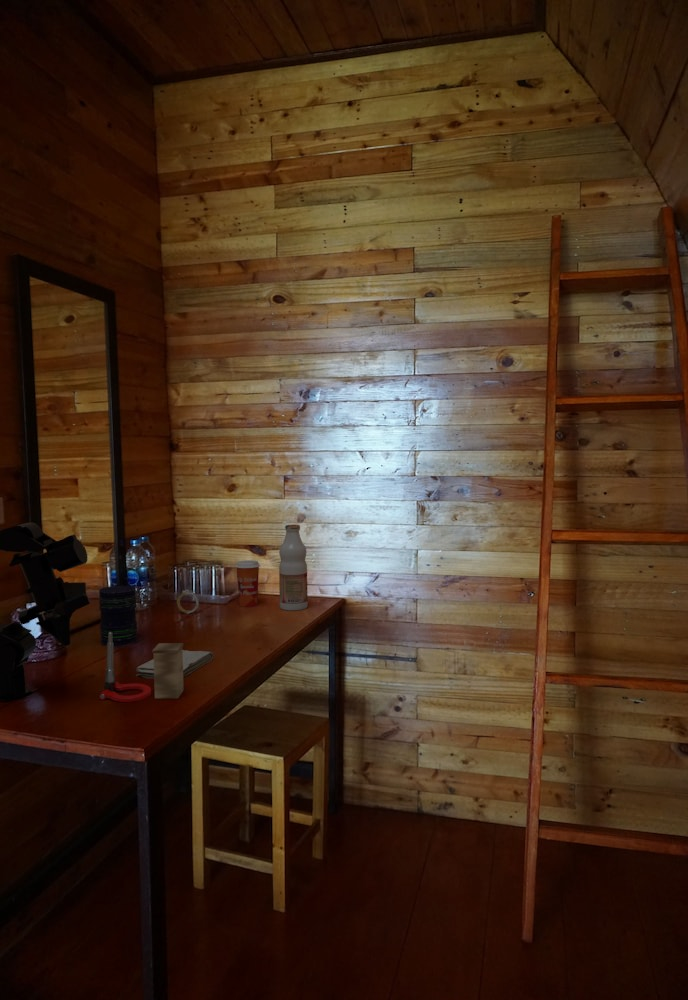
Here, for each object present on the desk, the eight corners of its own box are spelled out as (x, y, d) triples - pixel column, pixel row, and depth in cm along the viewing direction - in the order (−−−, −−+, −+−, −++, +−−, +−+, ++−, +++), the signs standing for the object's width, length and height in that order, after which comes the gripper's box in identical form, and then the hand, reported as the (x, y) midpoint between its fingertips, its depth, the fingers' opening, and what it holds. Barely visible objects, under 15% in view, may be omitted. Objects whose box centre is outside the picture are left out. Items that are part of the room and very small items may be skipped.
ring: (176, 614, 222) (175, 590, 221) (179, 612, 225) (179, 588, 224) (196, 614, 221) (196, 590, 220) (200, 612, 224) (199, 588, 224)
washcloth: (133, 679, 161) (132, 666, 161) (173, 656, 178) (172, 645, 178) (177, 683, 157) (177, 670, 157) (214, 660, 175) (214, 648, 174)
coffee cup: (234, 607, 230) (233, 563, 229) (238, 602, 239) (238, 559, 238) (258, 607, 230) (258, 563, 229) (262, 602, 238) (261, 559, 237)
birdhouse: (153, 698, 147) (152, 650, 146) (164, 684, 156) (163, 638, 155) (178, 698, 147) (177, 650, 146) (188, 684, 156) (187, 638, 155)
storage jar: (94, 646, 186) (92, 581, 185) (108, 636, 196) (106, 574, 194) (130, 646, 186) (128, 581, 184) (142, 636, 195) (140, 574, 194)
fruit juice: (274, 607, 230) (272, 525, 228) (295, 603, 236) (294, 523, 234) (291, 612, 223) (290, 527, 221) (313, 607, 230) (312, 525, 228)
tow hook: (157, 690, 153) (115, 686, 154) (158, 629, 152) (115, 626, 153) (141, 705, 144) (96, 701, 145) (142, 641, 143) (96, 638, 144)
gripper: (96, 559, 149) (122, 625, 150) (49, 573, 160) (73, 634, 161) (53, 576, 140) (80, 646, 141) (6, 590, 150) (31, 655, 152)
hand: (67, 645), depth 149 cm, fingers closed
